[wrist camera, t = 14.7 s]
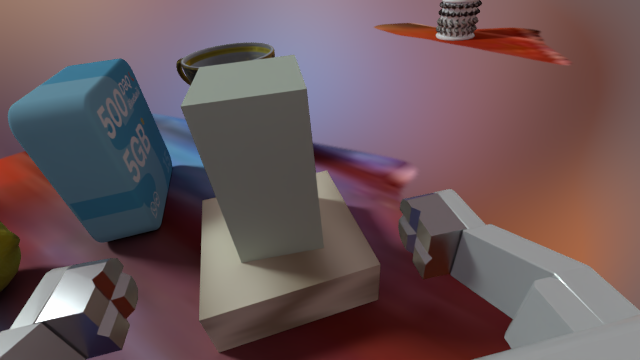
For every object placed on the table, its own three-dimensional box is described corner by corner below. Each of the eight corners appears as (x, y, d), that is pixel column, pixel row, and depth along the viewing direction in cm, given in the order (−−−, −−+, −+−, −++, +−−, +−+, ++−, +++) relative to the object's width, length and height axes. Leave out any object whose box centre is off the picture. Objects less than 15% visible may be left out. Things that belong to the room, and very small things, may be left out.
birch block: (221, 356, 18) (199, 320, 15) (217, 236, 25) (202, 200, 23) (377, 303, 20) (380, 264, 17) (329, 206, 27) (326, 170, 25)
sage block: (241, 262, 18) (180, 106, 12) (244, 206, 22) (199, 67, 16) (323, 247, 18) (306, 88, 12) (312, 195, 22) (294, 54, 16)
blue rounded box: (159, 237, 25) (80, 100, 18) (101, 251, 24) (-6, 114, 17) (174, 163, 35) (126, 54, 27) (132, 172, 34) (71, 61, 27)
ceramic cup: (299, 121, 41) (289, 42, 35) (262, 161, 33) (241, 69, 27) (221, 113, 45) (200, 41, 39) (173, 146, 38) (137, 65, 32)
